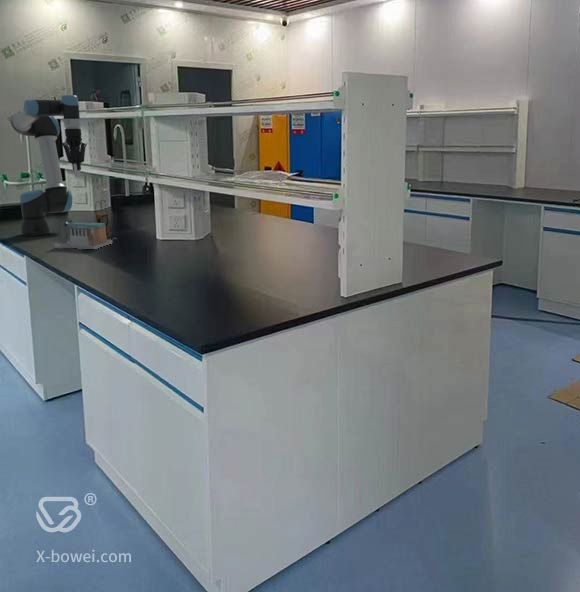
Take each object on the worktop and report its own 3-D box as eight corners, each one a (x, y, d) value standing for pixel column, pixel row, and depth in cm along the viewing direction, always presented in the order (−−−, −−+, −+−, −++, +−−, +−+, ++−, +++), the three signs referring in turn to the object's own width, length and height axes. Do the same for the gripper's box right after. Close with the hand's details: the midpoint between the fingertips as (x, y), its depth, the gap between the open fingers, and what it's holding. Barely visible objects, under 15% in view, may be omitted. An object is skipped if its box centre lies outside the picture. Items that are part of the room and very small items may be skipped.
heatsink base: (54, 248, 302) (52, 223, 299) (74, 241, 317) (71, 218, 314) (94, 250, 297) (92, 225, 293) (112, 243, 311) (110, 220, 308)
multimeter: (113, 241, 318) (109, 202, 312) (95, 240, 320) (91, 201, 314) (125, 236, 332) (122, 198, 326) (108, 235, 334) (105, 198, 328)
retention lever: (60, 227, 304) (60, 222, 304) (68, 225, 310) (67, 221, 309) (98, 228, 299) (98, 224, 298) (105, 226, 304) (105, 222, 304)
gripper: (56, 128, 303) (61, 177, 309) (79, 128, 300) (84, 177, 306) (65, 128, 310) (70, 176, 316) (88, 127, 307) (93, 176, 313)
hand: (77, 176), depth 311 cm, fingers closed
